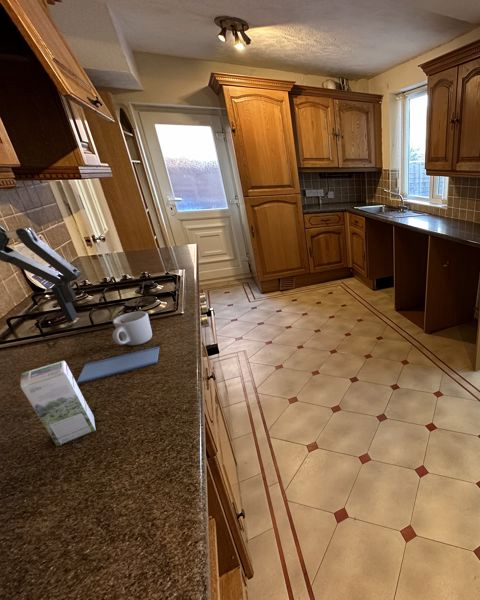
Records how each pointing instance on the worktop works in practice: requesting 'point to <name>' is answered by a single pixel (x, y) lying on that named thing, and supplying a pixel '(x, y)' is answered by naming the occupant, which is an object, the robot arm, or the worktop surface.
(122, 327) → the cup
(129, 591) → the worktop surface
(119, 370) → the cloth
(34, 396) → the syrup box
